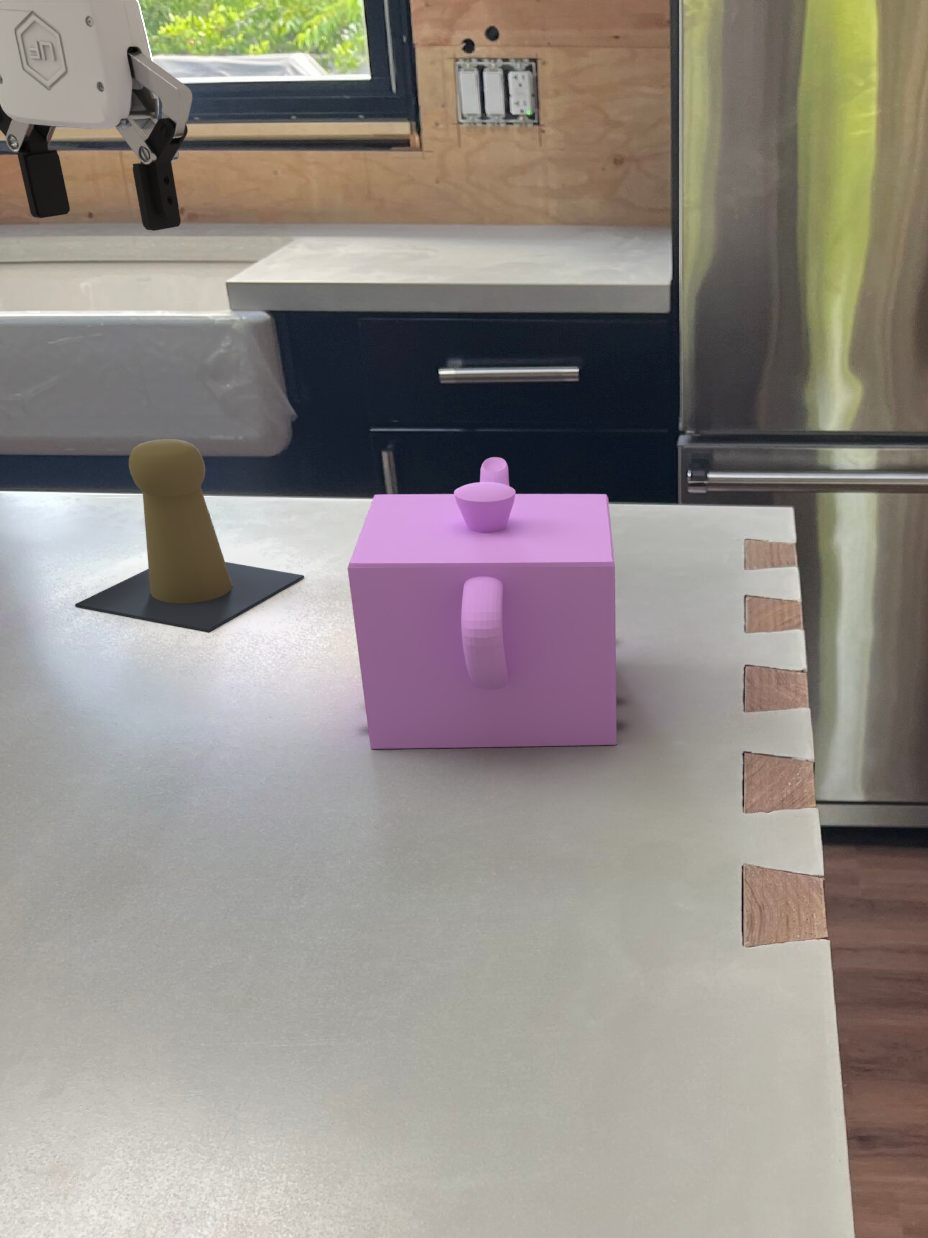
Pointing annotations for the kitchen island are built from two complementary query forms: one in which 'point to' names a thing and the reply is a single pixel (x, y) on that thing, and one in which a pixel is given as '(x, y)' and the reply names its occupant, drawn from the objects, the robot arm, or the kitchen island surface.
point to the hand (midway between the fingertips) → (106, 221)
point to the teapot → (486, 617)
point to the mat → (203, 616)
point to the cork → (178, 523)
